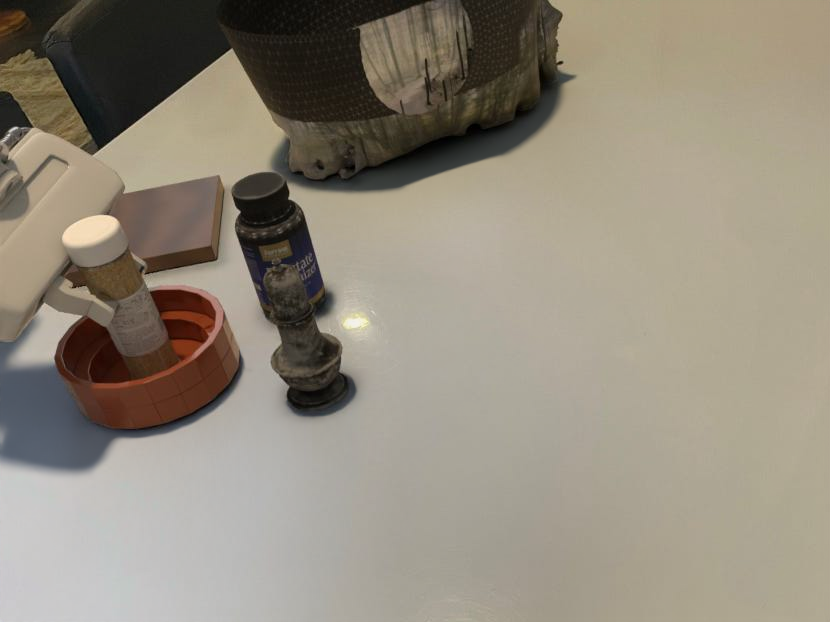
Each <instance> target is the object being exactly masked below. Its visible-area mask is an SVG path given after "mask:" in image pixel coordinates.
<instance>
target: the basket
mask: <svg viewBox="0 0 830 622" xmlns="http://www.w3.org/2000/svg"><path fill="white" fill-rule="evenodd" d="M563 17H564V14H563V12H562V11H560V10H559V9H558V8H556V7H554V6H553V5H552V3H551V2H550V1H549V0H220V2H219V3H218V5H217V7H216V10H215V18H216V20H217V22H218V25H219V27H220V28H221V30H222V32H223V34H224V36H225V38H226V40H227V42H228V44H229V45H230V47H231V49H232V51H233V52H234V54H235V56H236V58H237V59H238V61H239V63H240V65H241V67H242V69H243V70H244V72H245V74H246V76H247V77H248V79H249V81H250V83H251V84H252V86H253V87H254V90H255V92H256V93H257V95H258V96H259V98H260V99H261V101H262V103H263V105H264V106H265V108H266V109H267V112H268V113H269V114H270V117H271V119H272V121H273V123H274V124H275V125H276V126H277V127H278V128H280V129H281V130H282V131H283V132H284V133H285V135H286V136H287V137H288V140H289V142H290V143H289V149H288V150H289V151H288V152H287V154H286V155H285V157H284V158H285V161H286V163H288V168H290V171H291V172H292V173H297V172H303V175H304V177H306V178H307V179H311V180H316V181H317V180H324V179H326V178H327V177H328V176H332V175H335V174H338V175H339V176H341V180H343V179H347V180H348V179H349V178H351V177H353V176H354V175H356V173H359V171H361V170H363V169H364V168H365V167H370V168H371V167H377V166H380V165H381V164H384V163H385V162H388V161H391V160H394V159H397V158H399V157H401V156H403V155H406V154H408V153H410V152H412V151H414V150H416V149H418V148H420V147H421V146H423V145H426V144H428V143H430V142H433V141H437V140H439V139H442V138H445V137H451V136H452V137H453V136H455V137H456V136H457V137H459V136H465V135H466V134H467V129H468V128H469V127H470V126H471V125H475V124H476V125H479V127H480V129H482V130H484V129H485V130H486V129H489V128H493V127H497V126H500V125H503V124H506V123H508V122H511V121H514V119H515V115H516V111H517V110H519V111H520V112H525V111H526V110H529V111H530V110H531V109H533V108H534V107H535V105H536V104H537V103H538V102H539V100H540V98H541V84H551V83H555V82H556V81H558V76H557V72H556V71H558V66H561V65H563V64H564V60H560V61H557V53H559V47H560V44H559V42H558V39H557V36H558V33H559V32H558V30H559V29H560V27H559V25H560V23H561V22H562V20H563ZM352 166H354V169H352V168H351V167H352Z"/></svg>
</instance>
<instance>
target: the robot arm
mask: <svg viewBox="0 0 830 622" xmlns="http://www.w3.org/2000/svg"><path fill="white" fill-rule="evenodd" d="M125 190H126V185H125V183H124V180H123V179H122V177H121V176H120V174H119V172H117V171H116V170H115V169H113V168H112V167H111V166H109V165H108V164H106V163H104V162H103V161H101V160H99V159H98V158H96V157H95V156H93V155H92V154H90V153H88V152H87V151H85V150H83V149H82V148H80V147H78V146H77V145H75V144H73V143H72V142H70V141H68V140H66V139H64V138H62V137H59V136H58V135H55V134H53V133H49V132H45V131H44V130H43V129H40V128H38V127H27V126H25V127H20V126H12V127H11V128H8V130H7V131H6V132H5V133H4V136H3V137H2V138H1V139H0V342H5V343H6V342H7V343H13V342H16V340H17V339H18V338H19V337H20V335H21V334H22V333H23V332H24V330H25V329H26V327H28V325H29V323H30V322H31V321H32V319H33V318H34V317H35V316H36V314H37V313H38V312H39V311H40V309H41V308H42V307H43V305H44V304H46V305H48V306H49V307H50V308H52V309H54V310H55V311H57V312H58V313H64V314H70V315H75V316H81V317H82V316H88V317H89V318H91V319H92V320H94V321H96V322H97V323H99V324H100V325H102V326H104V327H108V326H109V325H110V323H111V322H112V320H113V319H114V317H115V316H116V314H117V312H118V310H119V308H120V304H119V303H118V302H117V301H116V300H114V299H110V297H109V296H108V295H107V294H105V293H104V292H102V291H100V292H99V293H98V295H97V296H95V295H92V294H90V293H88V292H85V291H81V290H78V289H75V288H73V287H72V286H73V283H72V282H71V281H69V280H68V279H66V278H65V275H66V274H67V273H68V271H69V270H70V269H71V268H72V266H73V265H74V263H73V262H72V261H71V259H70V257H69V255H68V253H67V251H66V249H65V247H64V245H63V242H62V236H63V234H64V232H65V231H66V229H67V228H68V227H70V226H71V225H72V224H74V223H76V222H77V221H80V220H82V219H85V218H87V217H91V216H97V215H108V216H112V214H113V213H114V211H115V210H116V208H117V206H118V204H119V202H120V200H121V197H122V195H123V194H124V193H125ZM131 254H132V256H133V259H134V261H135V263H136V265H137V267H138V269H139V272H140V274H141V276H142V277H143V278H144V275H145V274H146V273H145V271H146V269H147V264H146V263H145V261H143V260H142V259H140V258H139V257H137V256H136V255H134V254H133V253H132V252H131Z"/></svg>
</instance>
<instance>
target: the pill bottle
mask: <svg viewBox="0 0 830 622" xmlns="http://www.w3.org/2000/svg"><path fill="white" fill-rule="evenodd" d="M230 191H231V192H230V193H231V197H232V200H233V203H234V206H235V208H236V209H237V210H238V211H239V214H238V215H237V216H236V219H235V223H234V231H235V235H236V237H237V241H238V243H239V246H240V250H241V252H242V255H243V259H244V260H245V265H246V267H247V270H248V272H249V275H250V278H251V281H252V285H253V287H254V290H255V293H256V296H257V298H258V301H259V305H260V308H261V309H262V311H263V312H264V314H266V315H267V316H268V317H270V313H271V312H272V308H271V305H270V302H269V299H268V296H267V293H266V290H265V287H264V284H263V279H264V276H265V274H266V272H267V271H268V270H269V269H271V268H272V267H274V265H273V264H272V261H273V259H274V257H276V258H278V259H280V260H281V262H280V264H287V265H292V266H294V267H295V268H297V269H298V271H299V272H300V274H301V277H302V281H303V284H304V287H305V290H306V294H307V297H308V300H310V301H312V302H313V303H314V304H315V306H316V310H318V309H319V308H320V306H321V305H322V304H323V302H324V300H325V298H326V296H327V295H326V294H327V290H326V287H325V283H324V279H323V275H322V272H321V269H320V265H319V261H318V259H317V255H316V250H315V248H314V245H313V241H312V237H311V234H310V230H309V226H308V223H307V220H306V216H305V213H304V212H305V211H304V210H303V208H302V207H301V206H300V205H299V204H298V203H297V202H296V201H294V200H291V199H289V198H290V193H291V191H290V188H289V186H288V182H287V180H286V177H285V176H284V175H283V174H281V173H279V172H276V171H261V172H256V173H252V174H249V175H247V176H244V177H243V178H240V179H239V180H237V181H236V182H234V184H233V185H232V187H231V190H230Z"/></svg>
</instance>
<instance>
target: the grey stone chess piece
mask: <svg viewBox="0 0 830 622" xmlns="http://www.w3.org/2000/svg"><path fill="white" fill-rule="evenodd" d="M280 262H281V260H280V259H278V258H276V257H274V259H273V261H272V264H273V265H274V267H272V268H271V269H269V270H268V271H267V272H266V274H265V276H264V279H263V284H264V287H265V290H266V293H267V296H268V299H269V302H270V305H271V308H272V312H271V313H270V316H269V320H270V322H271V323H272V324H273V325H274V326H276V329H277V331H278V334H279V336H280V341H281V343H280V345H278V346H277V347H276V348H275V350H274V351H273V353H272V355H271V357H270V365H271V369H272V370H273V371H274V372H275V373H276V374H277V375H278V376H279V378H280V379H281V380H282V381H283V382H284V383H285V384H286V385H287V386H288V388H287V390H286V398H287V402H288V403H289V405H290V406H291V407H293V409H296V410H300V411H303V412H315V411H322V410H324V409H328V408H330V407H332V406H334V405H337V404H338V403H339V402H340V401H342V400H343V399H344V397H345V396H346V395H347V394H348V392H349V390H350V381H349V379H348V377H347V376H346V375H345V374H344V373H343V372H341V371H340V370H341V364H342V354H343V350H344V349H343V348H344V347H343V344H342V342H341V340H340V339H339V338H337V336H334V335H333V334H330V333H327V332H322V331H320V328H319V327H318V324H317V323H318V322H317V320H316V317H315V314H316V311H317V309H316V306H315V304H314V303H313V302H312V301H310V300H308V297H307V294H306V290H305V287H304V284H303V281H302V277H301V274H300V272H299V271H298V269H297V268H295V267H294V266H292V265H287V264H280Z"/></svg>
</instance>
